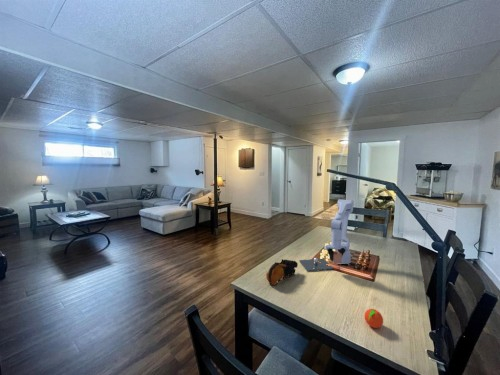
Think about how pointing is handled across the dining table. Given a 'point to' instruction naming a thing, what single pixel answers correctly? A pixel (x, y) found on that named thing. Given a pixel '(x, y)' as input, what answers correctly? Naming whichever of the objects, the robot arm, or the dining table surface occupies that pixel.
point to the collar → (337, 258)
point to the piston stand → (315, 265)
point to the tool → (281, 270)
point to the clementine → (373, 318)
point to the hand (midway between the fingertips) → (335, 259)
